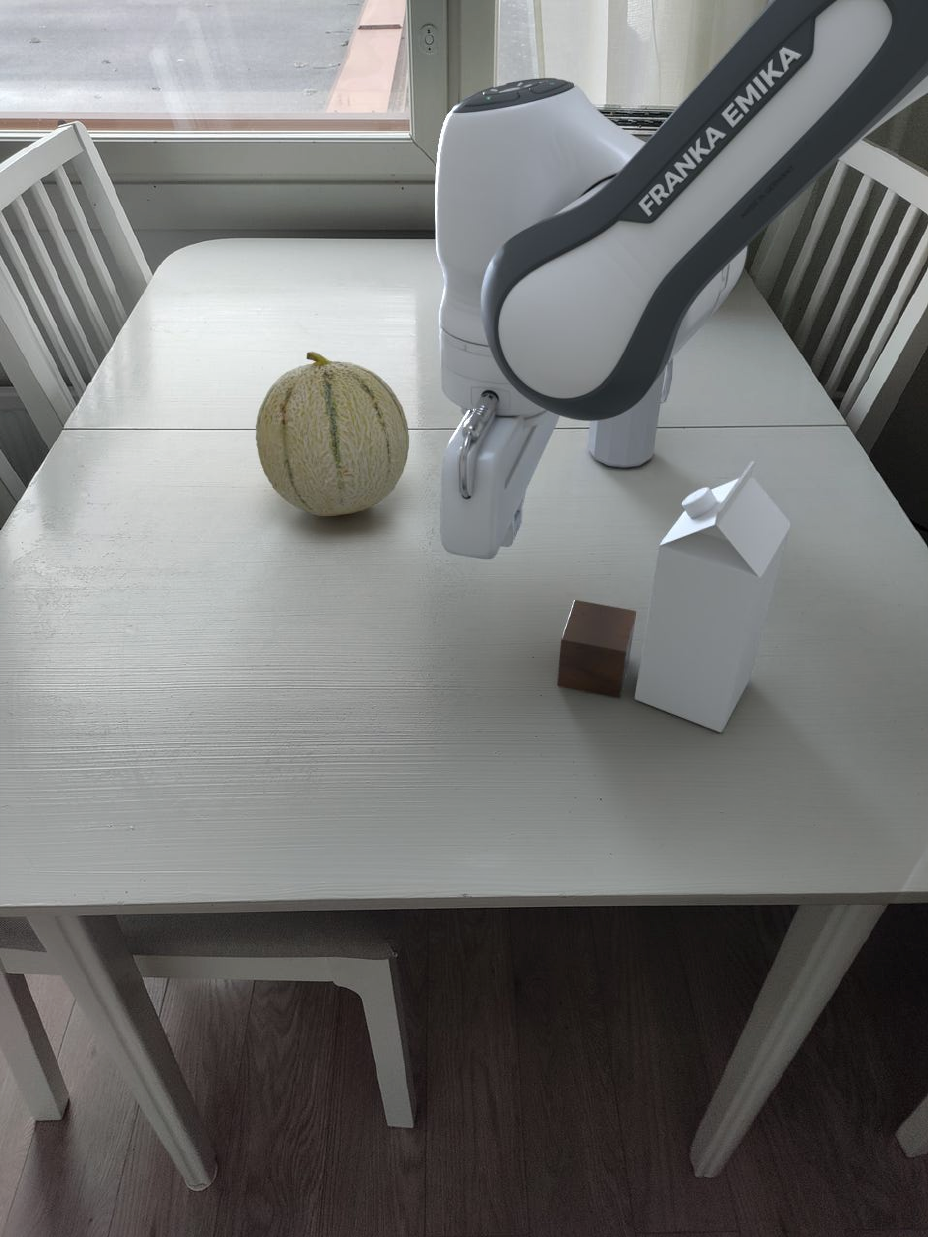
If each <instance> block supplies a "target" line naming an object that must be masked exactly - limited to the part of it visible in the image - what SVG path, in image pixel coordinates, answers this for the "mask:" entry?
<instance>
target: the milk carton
mask: <svg viewBox="0 0 928 1237" xmlns="http://www.w3.org/2000/svg"><path fill="white" fill-rule="evenodd" d="M754 465H755V461H753V460H751V461H750V462H749V464H748V465H747V466H746V468H745V469H744V471H743V472H742V474H741V475H740V476H739V477H738V478H736V479H733V480H731V481H729V482H726V483H724V484H721V485H719V486H717V487H714V488H712V489H711V488H710V487H709V486H707V487H702V488H699V489H697V490H695V491H693V492H692V493H690V494H689V495H688V496H686V497H685V498H684V499H683V500H682V501H681V506H682V509H683V510H684V511H683V512H682V514H681V515H680V516H679V518H678V519H677V521H676V522H675V523H674V524H673V525H672V527H671V529H670V530H669V531H668V532H667V534H666V535H665V536H664V538H663V539H662V541H661V542H660V544H659V545H658V549H657V553H656V554H657V555H656V561H655V566H654V567H655V568H654V573H653V579H652V586H651V593H650V599H649V604H648V611H647V618H646V624H645V629H644V637H643V641H642V642H643V643H642V649H641V655H640V660H639V667H638V672H637V673H638V674H637V679H636V680H637V681H636V687H635V691H634V700H636V701H638V702H641V703H643V704H645V705H648V706H651V707H654V708H656V709H658V710H662V711H664V712H666V713H669V714H671V715H674V716H676V717H679V718H682V719H685V720H687V721H690V722H692V723H694V724H697V725H699V726H703V727H705V728H708V729H709V730H713V731H715V732H718V733H722V732H723V731H724V729H725V727H726V726H727V724H728V722H729V720H730V719H731V716H732V714H733V713H734V710H735V708H736V707H737V705H738V703H739V701H740V699H741V697H742V696H743V693H744V691H745V689H746V687H747V686H748V684H749V681H750V679H751V677H752V672H753V670H754V665H755V663H756V662H755V661H756V659H757V658H756V657H757V654H758V650H759V646H760V642H761V639H762V635H763V631H764V628H765V624H766V620H767V617H768V613H769V609H770V605H771V601H772V599H773V598H772V597H773V593H774V589H775V586H776V582H777V579H778V574H779V571H780V567H781V564H782V560H783V556H784V552H785V548H786V545H787V541H788V537H789V533H790V530H791V526H792V525H791V522H790V521H789V520H788V518H787V517H786V516H785V515H784V512H782V511H781V510H780V508H779V507H778V506H777V505H776V503H775V502H774V501H773V500H772V498H771V497H770V496H769V495H768V493H767V492H766V491H765V489H764V488H763V487H762V486H761V485H760V483H759V482H758V481H757V479H756V478H755V477H754V476H753V470H754Z"/></svg>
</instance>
